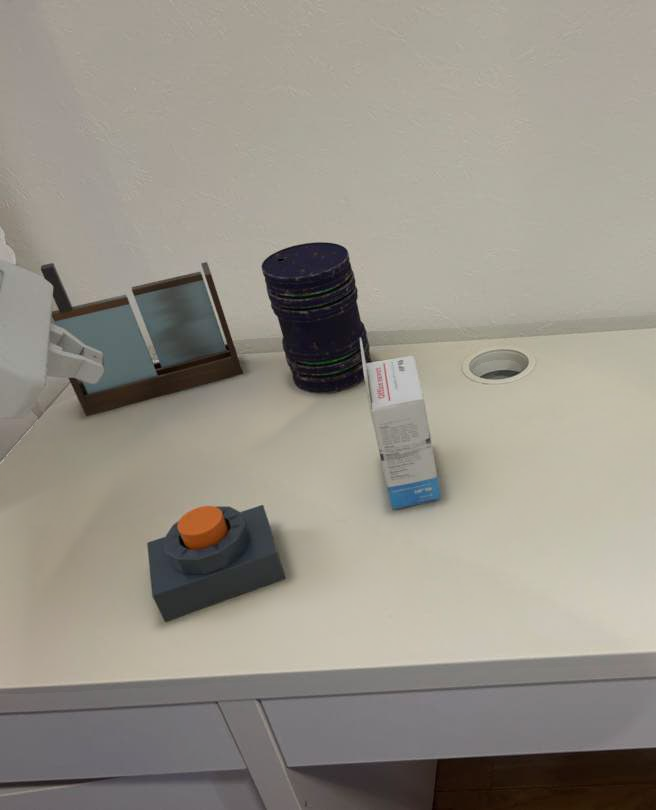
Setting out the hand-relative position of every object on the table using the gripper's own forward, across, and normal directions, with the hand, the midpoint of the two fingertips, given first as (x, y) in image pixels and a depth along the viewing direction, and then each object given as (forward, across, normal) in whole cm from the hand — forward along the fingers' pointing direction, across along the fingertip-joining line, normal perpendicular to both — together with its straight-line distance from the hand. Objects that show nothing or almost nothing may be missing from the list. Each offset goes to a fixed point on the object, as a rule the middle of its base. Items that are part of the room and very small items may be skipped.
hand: (100, 369), depth 66 cm
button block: (+15, +10, -10) cm, 20 cm away
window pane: (+10, -26, -13) cm, 31 cm away
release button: (+12, +9, -6) cm, 16 cm away
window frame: (+14, -27, -11) cm, 32 cm away
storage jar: (+27, -20, +2) cm, 34 cm away
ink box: (+28, +6, +4) cm, 29 cm away
